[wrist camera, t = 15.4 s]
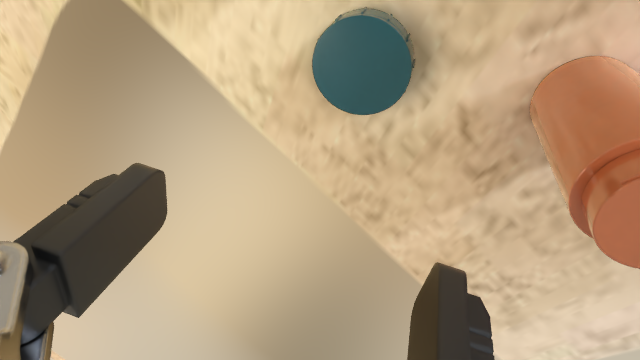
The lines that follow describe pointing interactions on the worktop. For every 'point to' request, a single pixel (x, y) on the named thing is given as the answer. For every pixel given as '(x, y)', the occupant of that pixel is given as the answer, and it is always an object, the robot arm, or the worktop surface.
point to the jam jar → (595, 148)
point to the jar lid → (363, 61)
